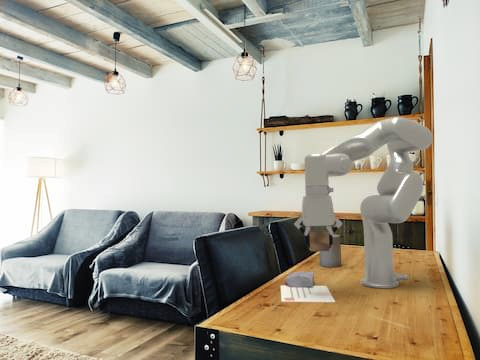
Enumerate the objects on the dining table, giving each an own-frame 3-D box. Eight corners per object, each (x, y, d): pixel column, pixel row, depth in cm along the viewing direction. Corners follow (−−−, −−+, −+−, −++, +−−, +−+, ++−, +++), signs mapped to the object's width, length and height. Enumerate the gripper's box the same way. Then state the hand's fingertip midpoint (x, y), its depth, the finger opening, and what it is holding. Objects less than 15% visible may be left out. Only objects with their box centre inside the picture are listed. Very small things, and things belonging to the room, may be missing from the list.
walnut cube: (327, 248, 123) (326, 230, 124) (329, 251, 118) (329, 232, 118) (308, 248, 124) (308, 230, 124) (310, 251, 118) (309, 232, 118)
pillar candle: (339, 263, 173) (338, 231, 174) (343, 267, 164) (341, 233, 164) (318, 263, 174) (317, 231, 175) (320, 267, 165) (319, 233, 165)
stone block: (286, 291, 130) (315, 287, 128) (283, 278, 130) (312, 273, 128) (289, 285, 141) (315, 280, 139) (286, 272, 142) (312, 268, 140)
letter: (326, 286, 131) (326, 285, 131) (335, 302, 111) (335, 301, 111) (280, 286, 132) (280, 285, 132) (281, 302, 112) (281, 301, 112)
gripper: (342, 191, 124) (344, 245, 124) (290, 192, 126) (291, 245, 125) (346, 191, 117) (348, 248, 116) (290, 192, 119) (292, 249, 118)
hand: (318, 246), depth 121 cm, fingers closed on walnut cube, 6 cm apart
